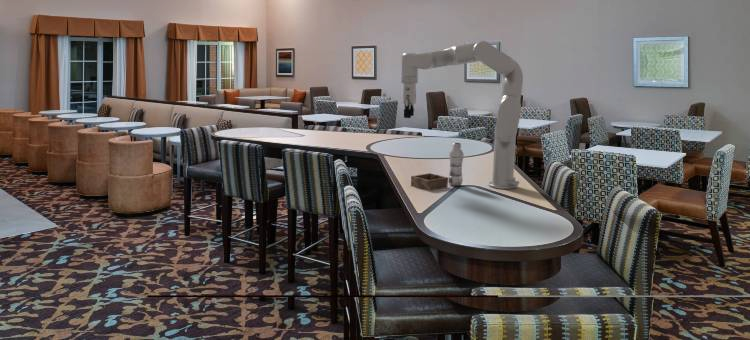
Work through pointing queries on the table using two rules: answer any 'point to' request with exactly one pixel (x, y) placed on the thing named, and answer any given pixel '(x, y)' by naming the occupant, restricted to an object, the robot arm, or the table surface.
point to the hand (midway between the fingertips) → (408, 116)
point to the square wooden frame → (429, 181)
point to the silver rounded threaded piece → (456, 165)
